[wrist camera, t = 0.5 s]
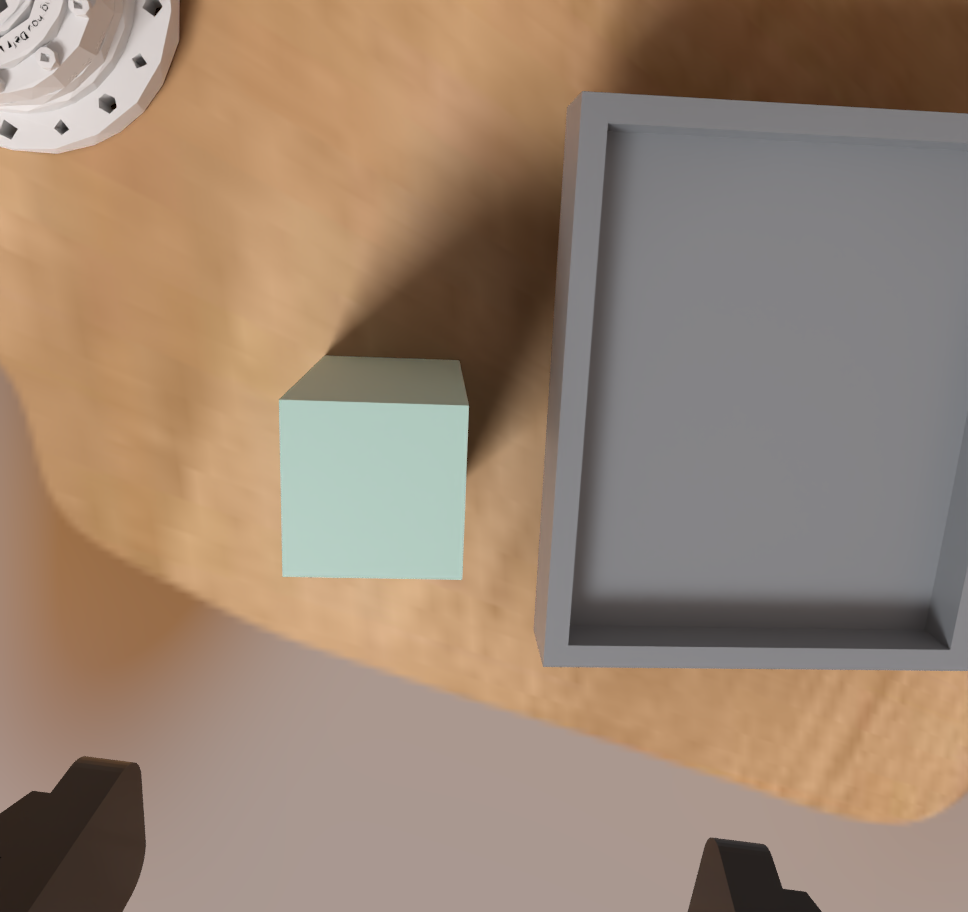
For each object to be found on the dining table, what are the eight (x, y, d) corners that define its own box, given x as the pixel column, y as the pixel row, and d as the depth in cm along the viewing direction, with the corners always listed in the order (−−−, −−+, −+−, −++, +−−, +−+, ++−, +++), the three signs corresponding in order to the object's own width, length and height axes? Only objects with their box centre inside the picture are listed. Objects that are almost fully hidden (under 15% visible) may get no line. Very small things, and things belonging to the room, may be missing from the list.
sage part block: (324, 355, 30) (278, 399, 21) (459, 360, 30) (469, 405, 21) (325, 484, 31) (282, 576, 22) (455, 488, 31) (462, 579, 23)
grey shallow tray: (553, 121, 28) (582, 91, 23) (963, 144, 29) (1085, 120, 24) (525, 595, 33) (543, 666, 27) (880, 601, 34) (968, 670, 28)
